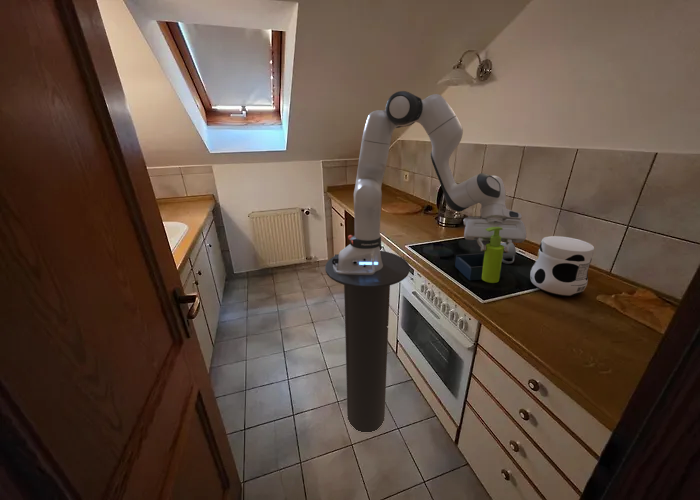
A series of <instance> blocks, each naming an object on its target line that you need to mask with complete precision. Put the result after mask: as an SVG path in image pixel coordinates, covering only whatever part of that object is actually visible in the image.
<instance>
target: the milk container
mask: <svg viewBox="0 0 700 500" xmlns="http://www.w3.org/2000/svg"><path fill="white" fill-rule="evenodd" d="M594 252H595V247H594V246H593V244H592V243H590V242H587V241H585V240H583V239H577V238H574V237H568V236H562V235H561V236H560V235H551V236H550V235H549V236H544V237H543V238H542V239H541V241H540V244H539V249H538V251H537V257H536V259H535V262H534V263H533V265H532V267H531V269H530V274H529V278H530V283H531V284H532V285H533V286H535V288H536V289H539V290H540V291H543V292H545V293H547V294H551V295H554V296H559V297H575V296H578V295H581V294H582V293H583V292H584V291H585V289H586V288H587V286H588V282H589V275H588V274H589V267H590V266H591V263H592V258H593V256H594Z"/></svg>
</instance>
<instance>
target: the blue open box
mask: <svg viewBox="0 0 700 500" xmlns="http://www.w3.org/2000/svg"><path fill="white" fill-rule="evenodd" d="M484 254H485V252H481V253H466V254H465V253H464V254H456V256H455V263H454V267H455V268H456V269H457V271H459V272H460V273H461V274H462V275H463V276H464V277H465V278H466V279H467V280H468V281H481V280H482V278H481V277H482V269H483V262H484ZM502 272H503V264H501V270H500V277H499V279H501V278H502V277H501V276H502ZM482 281H483V280H482Z"/></svg>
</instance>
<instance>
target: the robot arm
mask: <svg viewBox="0 0 700 500" xmlns="http://www.w3.org/2000/svg"><path fill="white" fill-rule="evenodd" d="M415 123H417V124H420V125H421V126H422V127H423V129H424V131H425V132H426V134H427V137H428V138H429V141H430V143H431V152H430V159H431V163H432V166H433V168H434V171H435V174H436V176H437V179H438V181H439V184H440V186H441V189H442V191H443V196H444V201H445V203H446V206H447V207H448V208H449V209H451V210H453V211H454V212H458V213H461V212H463V211H465V210H466V209H469V208H470V207H473V206H474V205H478V204H480V205H481V206H480V210H479V211H480V213H479V214H480V215H474V216H473V215H468V216H466V217H464V218H463V226H464V232H463V238H464V239H465V240H466V241H476V242H477V244H478V246H479V247H480V252H483V253H485V251H486V244H484V243H483V242H490V238H491V236H492V235H494V231H490V232H489V231H487V230H485V229H487V228H490V227H501V228H503V229H502V230H500V232H499V236H501V243H504V242H506V244H508V245H507V246H506V247H504V251H503V253H508V252H509V246H510V244H511V243H513V244H514V243H518V244H522V243H523V242H524V241H525V240H526V239H527V230H526V225H525V222H524V221H523V220H522V218H523V214H522V212H521V213H520V212H518V211H514V210H511V209H508V208H507V205H506V200H507V193H506V187H505V183H504V180H503V179H502V178H501V177H500V176H498V175H490V174H488V173H484V172H480V173H477V174H475V175H473V176H471V177H469V178H468V179H466V180H463V181H462V182H459V183H457V182H456V180H455V178H454V175H453V172H452V170H451V166H450V159H451V156H452V155H453V153H454V152H455V150H456V149H457V148H458V147H459V145H460V143H461V141H462V138H463V133H464V129H463V125H462V123H461V121H460V119H459V118H458V116H457V114H456V112H455V111H454V109H453V108H452V106H451V105H450V103H449V102H448V101H447V100H446V99H445V98H444V96H442V94H439V93H433V94H430V95H428V96H427V97H425V98H423V99H422V98H421V97H419V96H417V95H415V94H414V93H412V92H410V91H407V90H400V91H396V92H394V93H393V94H391V95H390V96H389V97H388V99H387V101H386V104H385V109H383V110H381V109H377V110H373V111H371V112H369V114H368V116H367V118H366V121H365V124H364V127H363V133H362V137H361V144H360V150H359V158H358V163H357V164H358V165H357V171H356V178H355V185H354V190H353V215H354V235H352V234H349V235H348V236H347V238H348V240H349V244H348V245H347V246H345V247H344V248H343V249H341V250H340V251H339V253H338V254H334V256H335V258H334V259H333V260H332V263H333V269H334V271H335V272H336V273H337V274H350V275H373V274H374V273H375V272H376V271H378V270H380V269H382V267H383V263H382V259H381V252H380V251H381V248H382V236H381V217H382V203H383V202H382V201H383V200H382V199H383V192H382V185H383V180H384V177H385V172H386V168H387V164H388V158H389V153H390V148H391V141H392V137H393V133H394V131H395V129H399V128H404V127H405V128H406V127H410V126H412V125H414V124H415Z"/></svg>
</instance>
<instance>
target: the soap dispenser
mask: <svg viewBox="0 0 700 500" xmlns="http://www.w3.org/2000/svg"><path fill="white" fill-rule="evenodd" d="M502 229H503V228H501V227H490V228H487V229H485V230H487V231H489V232H490V231H494V235H492V236H491V238H490V241H489V243H486V244H485V245H486V251H485V252H484V253H485V254H484V262H483V269H482V277H481V278H482V282H485V283H489V284H495V283H499V281H500V278H501V277H500V270H501V265H503V264H502V263H503V262H502V257H503V251H504V246H503V245H500V244H501V243H502V242H501V236H499V232H500V230H502ZM499 277H500V278H499Z"/></svg>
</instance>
